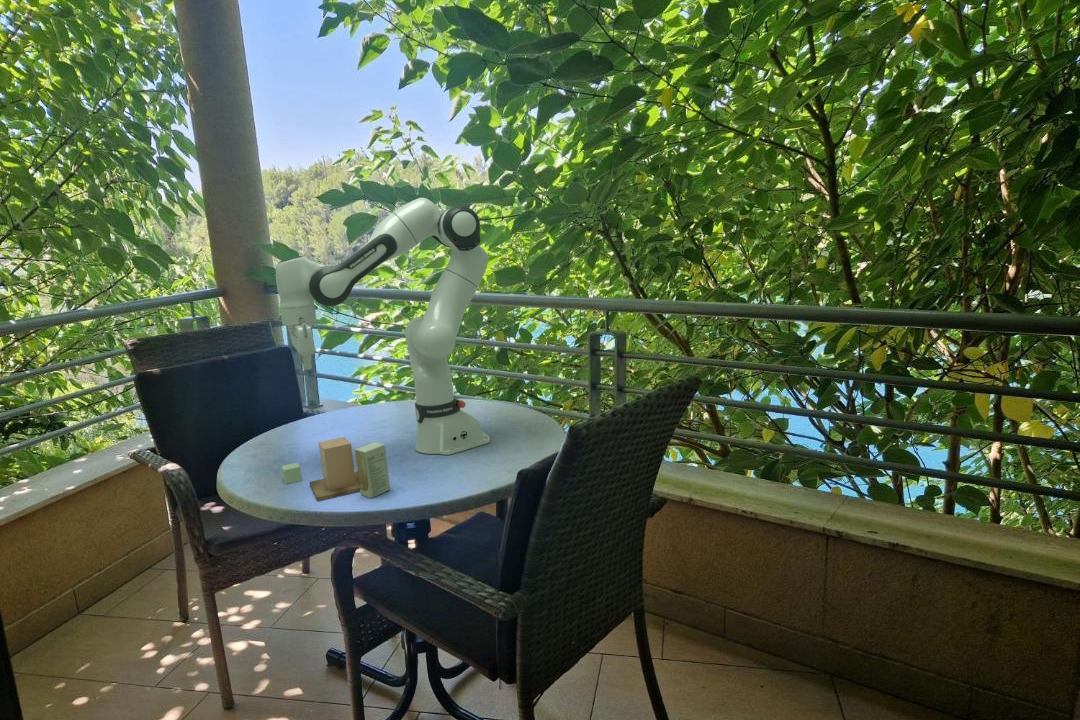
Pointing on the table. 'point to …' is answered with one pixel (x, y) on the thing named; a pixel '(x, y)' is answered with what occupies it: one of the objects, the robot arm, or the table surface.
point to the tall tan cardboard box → (337, 463)
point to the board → (324, 493)
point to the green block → (291, 473)
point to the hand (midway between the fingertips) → (305, 366)
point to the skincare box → (372, 469)
